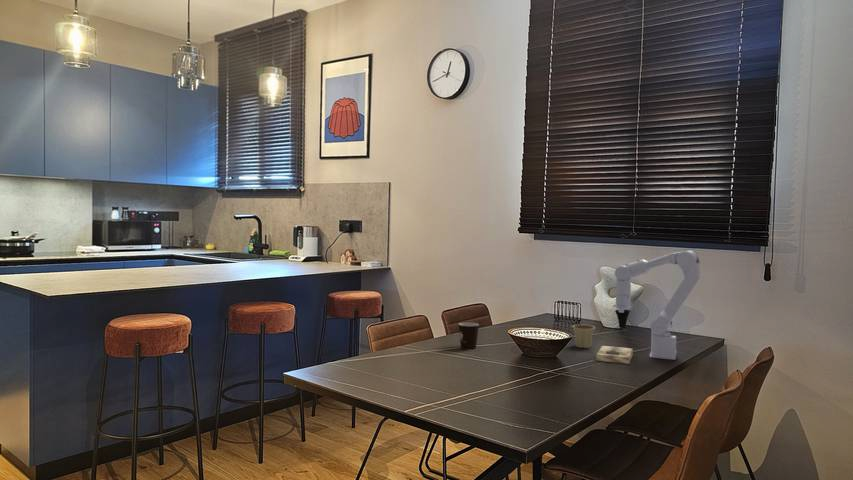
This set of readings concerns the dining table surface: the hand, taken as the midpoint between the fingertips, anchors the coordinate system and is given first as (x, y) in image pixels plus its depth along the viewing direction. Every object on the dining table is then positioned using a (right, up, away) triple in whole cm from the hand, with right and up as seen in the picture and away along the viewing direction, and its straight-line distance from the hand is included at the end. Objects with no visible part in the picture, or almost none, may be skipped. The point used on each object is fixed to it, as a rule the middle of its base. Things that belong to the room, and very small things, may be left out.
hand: (622, 327), depth 243 cm
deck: (-6, -10, -10) cm, 16 cm away
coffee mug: (-63, -9, +5) cm, 64 cm away
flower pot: (-14, -10, +9) cm, 19 cm away
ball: (-8, -9, -14) cm, 18 cm away
